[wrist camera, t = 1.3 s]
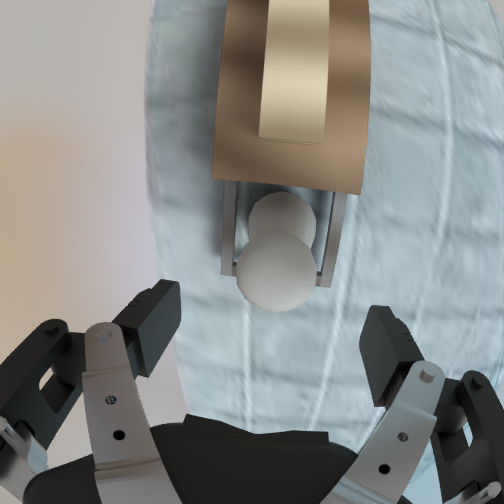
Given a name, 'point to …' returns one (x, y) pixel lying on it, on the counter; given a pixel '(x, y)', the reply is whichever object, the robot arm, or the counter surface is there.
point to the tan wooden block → (293, 106)
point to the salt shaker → (278, 253)
